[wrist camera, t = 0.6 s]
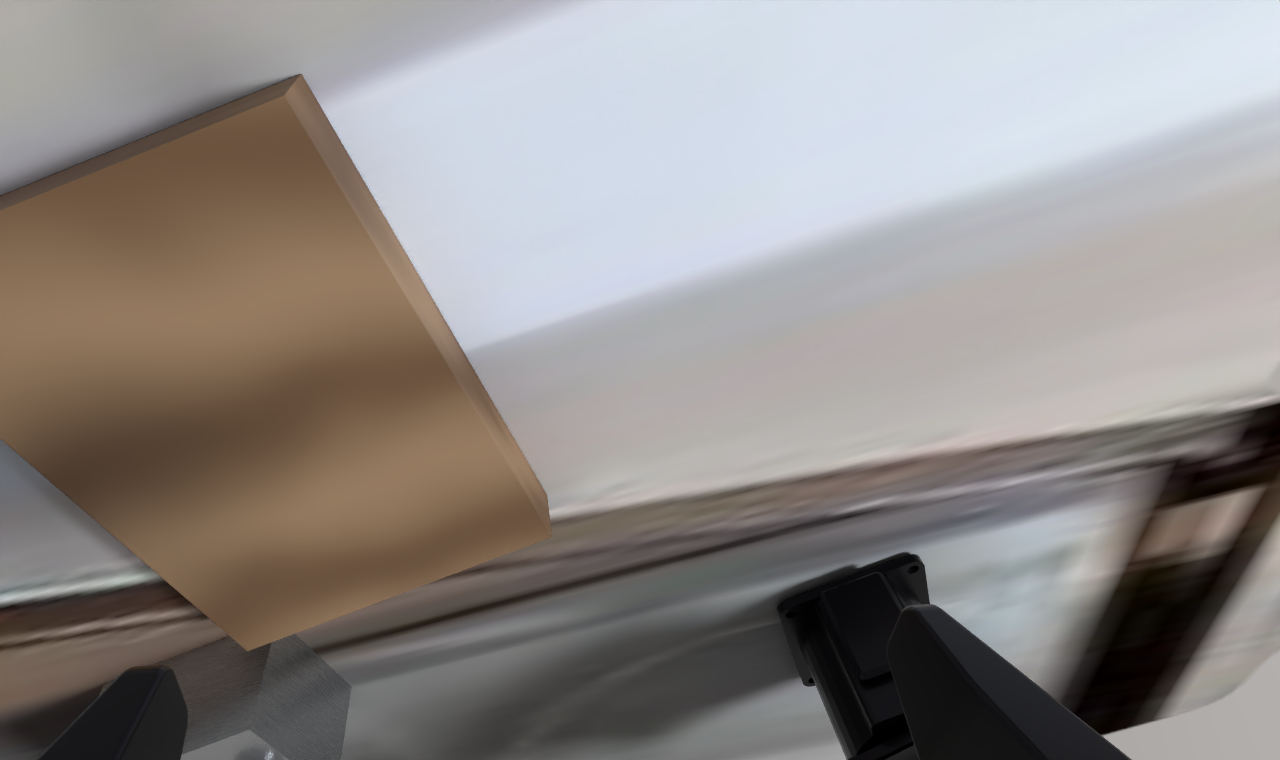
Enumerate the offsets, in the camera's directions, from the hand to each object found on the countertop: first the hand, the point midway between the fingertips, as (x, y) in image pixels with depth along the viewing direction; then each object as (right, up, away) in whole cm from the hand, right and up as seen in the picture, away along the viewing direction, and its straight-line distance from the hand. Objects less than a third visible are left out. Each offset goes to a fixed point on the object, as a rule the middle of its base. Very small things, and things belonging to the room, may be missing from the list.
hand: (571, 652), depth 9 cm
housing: (-15, -8, +20) cm, 26 cm away
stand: (-10, +3, +13) cm, 16 cm away
